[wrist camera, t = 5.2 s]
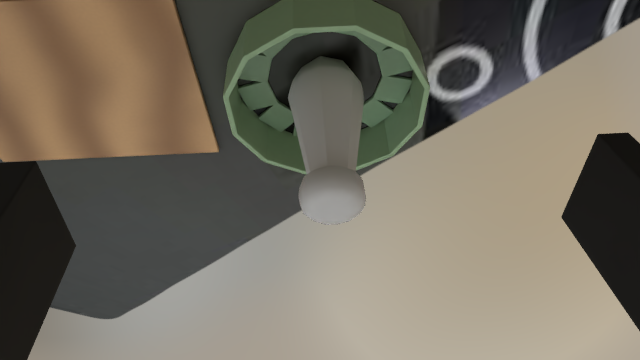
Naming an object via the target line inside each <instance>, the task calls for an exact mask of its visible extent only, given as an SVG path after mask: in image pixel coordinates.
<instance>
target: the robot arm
mask: <svg viewBox="0 0 640 360" xmlns="http://www.w3.org/2000/svg"><path fill="white" fill-rule="evenodd" d="M562 219H563V220H564V222H565V223H566V225H567V226H568V227H569V229H570V230H571V232H572V233H573V235H574V236H575V238H576V239H577V241H578V242H579V243H580V245H581V246H582V248H583V249H584V251H585V252H586V253H587V255H588V257H589V258H590V259H591V261H592V262H593V264H594V265H595V267H596V268H597V270H598V271H599V273H600V274H601V275H602V277H603V278H604V280H605V281H606V283H607V284H608V286H609V287H610V289H611V290H612V291H613V293H614V294H615V296H616V297H617V299H618V300H619V302H620V303H621V305H622V306H623V307H624V309H625V310H626V312H627V313H628V315H629V316H630V318H631V319H632V321H633V322H634V323H635V325H636V326H637V328H638V329H639V331H640V144H639V142H637V141H636V140H635V139H634V138H633V137H632V136H631V135H630V134H629V133H613V134H598V135H597V137H596V140H595V142H594V144H593V146H592V149H591V151H590V153H589V156H588V158H587V160H586V162H585V165H584V167H583V170H582V171H581V174H580V176H579V178H578V181H577V183H576V185H575V187H574V190H573V192H572V194H571V196H570V199H569V201H568V203H567V206H566V208H565V210H564V212H563V215H562ZM75 247H76V245H75V242H74V240H73V238H72V236H71V234H70V232H69V230H68V228H67V226H66V223H65V221H64V219H63V217H62V215H61V213H60V211H59V209H58V207H57V204H56V202H55V200H54V198H53V196H52V194H51V192H50V190H49V188H48V185H47V183H46V181H45V179H44V177H43V175H42V173H41V171H40V169H39V166H38V164H37V162H36V161H28V162H7V163H0V360H27V359H28V356H29V354H30V352H31V349H32V347H33V345H34V342H35V340H36V338H37V335H38V333H39V331H40V328H41V326H42V324H43V321H44V319H45V317H46V314H47V312H48V309H49V307H50V305H51V303H52V300H53V298H54V296H55V293H56V291H57V289H58V286H59V284H60V282H61V279H62V277H63V275H64V272H65V270H66V268H67V265H68V263H69V261H70V259H71V256H72V254H73V252H74V249H75Z"/></svg>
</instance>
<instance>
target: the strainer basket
mask: <svg viewBox="0 0 640 360" xmlns="http://www.w3.org/2000/svg"><path fill="white" fill-rule="evenodd" d="M317 32H337V33H342V34H348V35H353V36H356V37H357V38H358V39H360V40H361V41H362V42H363V43H364V44H366V45H367V46H368V47H369V48H370V49H372V50H373V51H374V52H375V53H376V54H377V58H378V62H379V66H380V70H381V74H382V76H381V78H380V80H379V82H378V85H377V87H376V89H375V92H374V94H373V96H372V97H371V98H370V99H368V100H367V101H366V102H364V105H363V114H362V122H363V123H365V124H366V125H368V127H366V128H364V129H362V130H361V131H360V139H359V148H358V156H357V165H356V170H358V169H361V168H363V167H366V166H368V165H371V164H373V163H376V162H378V161H381V160H383V159H386V158H388V157H391V156H393V155H394V154H395V153H396V152H397V151H398V150H399V149H400V148H401V147H402V146H403V145H404V144H405V143H406V142H407V141H408V140H409V139H410V138H411V137H412V136H413V135H414V134H415V133H416V132H417V131H418V130H419V129H420V128H421V127H422V124H423V119H424V115H425V110H426V105H427V100H428V95H429V90H430V85H429V82H428V78H427V74H426V70H425V66H424V62H423V59H422V55H421V52H420V50H419V48H418V46H417V44H416V43H415V41H414V39H413V37H412V35H411V34H410V32H409V30H408V28H407V26H406V25H405V23H404V21H403V19H402V17H401V15H400V14H399V13H397V12H395V11H392V10H390V9H388V8H386V7H384V6H382V5H380V4H378V3H376V2H374V1H372V0H281V1H279V2H278V3H276V4H274V5H273V6H271V7H269V8H268V9H266V10H264V11H263V12H261V13H259V14H258V15H256V16H254V17H253V18H251V19H249V20H248V21H247V22H246V23H245V26H244V28H243V30H242V32H241V34H240V36H239V38H238V40H237V43H236V45H235V47H234V49H233V51H232V53H231V55H230V57H229V60H228V62H227V70H226V78H225V85H224V93H223V99H224V103H225V107H226V111H227V115H228V119H229V122H230V126H231V130H232V134H233V136H235V137H236V138H237V139H238V140H239V141H240V142H241V143H243V144H244V145H245V146H246V147H247V148H248V149H249V150H251V151H252V152H253V153H254V154H255V155H256V156H258V157H259V158H260V159H261V160H262V161H263V162H266V163H269V164H273V165H276V166H279V167H283V168H286V169H289V170H293V171H296V172H299V173H303V174H307V173H306V169H305V165H304V161H303V156H302V152H301V148H300V144H299V140H298V135H297V131H296V127H294V130H293V133H290V132H287V131H284V130H285V129H286V128H287V127H288V126H290V125H291V124H292V123H293V122H294V119H293V115H292V111H291V108H289V107H287V106H286V105H284V104H283V103H281V102H280V101H278V99H277V97H276V95H275V93H274V92H273V90H272V88H271V86H270V84H269V82H268V77H269V72H270V67H271V61H272V58H273V57H274V56H275V55H276V54H277V53H278V52H279V51H280V50H281V49H282V48H283V47H284V46H285V45H286V44H287V43H289V42H290V41H291V40H292V39H293V38H297V37H301V36H304V35H308V34H311V33H317ZM387 46H389V47H387ZM411 70H413V74H412V78H407V77H401V76H395V74H399V73H403V72H407V71H411ZM238 79H244V80H250V81H257V82H253V83H249V84H245V85H242V86H238V84H237V81H238ZM409 88H410V91H409V92H408V90H409ZM407 92H408V93H407ZM406 94H407V95H406ZM240 95H241V97H242V98H243V100H244V101H243V100H242V99H241V97H240ZM382 101H386V102H393V103H399V104H398V105H397V106H396V107H395V108H394V109H393V110H392V109H391V108H390V107H388V106H387V105H386V104H384V103H383V102H382ZM268 106H270V107H268ZM264 107H268V108H267V109H266V110H265V111H264V112H263V113H262V114H261V115H259V116H258V115H257V114H256V113H255V112H254V111H253V110H256V109H260V108H264ZM267 124H268V125H267Z"/></svg>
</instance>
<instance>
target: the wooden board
mask: <svg viewBox="0 0 640 360" xmlns="http://www.w3.org/2000/svg"><path fill="white" fill-rule="evenodd" d="M206 152H219V146H218V143H217V140H216V136H215V133H214V130H213V126H212V123H211V120H210V117H209V113H208V110H207V107H206V103H205V100H204V97H203V93H202V90H201V87H200V83H199V80H198V77H197V73H196V70H195V67H194V63H193V60H192V57H191V54H190V50H189V47H188V44H187V40H186V37H185V34H184V30H183V27H182V24H181V20H180V17H179V14H178V10H177V7H176V4H175V1H174V0H0V158H1V159H2V160H3V161H4V162H13V161H35V160H56V159H78V158H99V157H121V156H142V155H163V154H185V153H206Z"/></svg>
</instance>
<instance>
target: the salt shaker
mask: <svg viewBox="0 0 640 360" xmlns="http://www.w3.org/2000/svg"><path fill="white" fill-rule="evenodd" d="M288 100H289V104H290V108H291V111H292V115H293V119H294V123H295V127H296V131H297V135H298V140H299V144H300V148H301V152H302V156H303V161H304V165H305V169H306V173H307V175H306V176H304V178H303V181H302V183H301V186H300V188H299V201H300V205H301V208H302V211H303V213H304V214H305V215H306V216H308V217H309V218H311V219H312V220H313V221H315V222H319V223H322V224H340V223H344V222H348V221H350V220H351V219H353V218H355V217H356V216H357V215H358V214H360V213H361V211H362V210H363V208H364V206H365V201H366V195H365V190H364V185H363V180H362V179H361V177H360V176H359V175H358V174H357V173H356V165H357V156H358V148H359V139H360V131H361V122H362V114H363V105H364V94H363V88H362V84H361V81H360V80H359V79H358V78H357V77H356V76H355V74H354V73H353V72H352V71H351V70H350V68H349V67H348V66H347V65H346V64H345V63H344V61H343V60H338V59H333V58H328V57H323V56H319V57H317V58H316V59H314V60H312V61H311V62H309V63H308V64H306V65H304V66H303V67H301V69H300V70H299V72H298V73H297V75H296V76H295V78H294V79H293V81H292V84H291V87H290V91H289V95H288Z"/></svg>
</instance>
